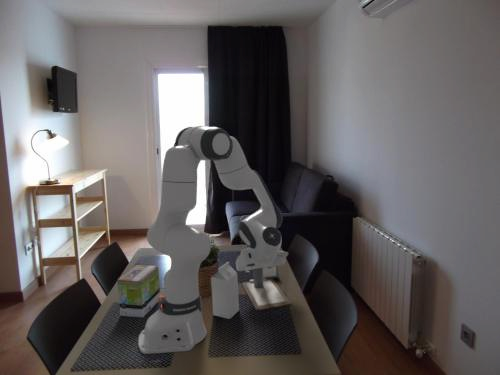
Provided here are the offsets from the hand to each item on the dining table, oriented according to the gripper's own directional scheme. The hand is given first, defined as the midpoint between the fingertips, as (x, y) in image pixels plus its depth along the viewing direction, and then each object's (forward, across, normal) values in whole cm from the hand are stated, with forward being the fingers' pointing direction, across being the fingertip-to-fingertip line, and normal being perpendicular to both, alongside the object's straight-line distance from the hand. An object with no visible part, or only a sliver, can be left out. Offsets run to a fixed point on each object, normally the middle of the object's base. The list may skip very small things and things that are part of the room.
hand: (258, 269), depth 159 cm
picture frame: (+13, -7, 0) cm, 15 cm away
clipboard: (+3, -1, +10) cm, 10 cm away
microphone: (+7, 0, +5) cm, 8 cm away
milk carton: (-4, +17, +17) cm, 24 cm away
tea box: (+7, +48, +6) cm, 49 cm away
